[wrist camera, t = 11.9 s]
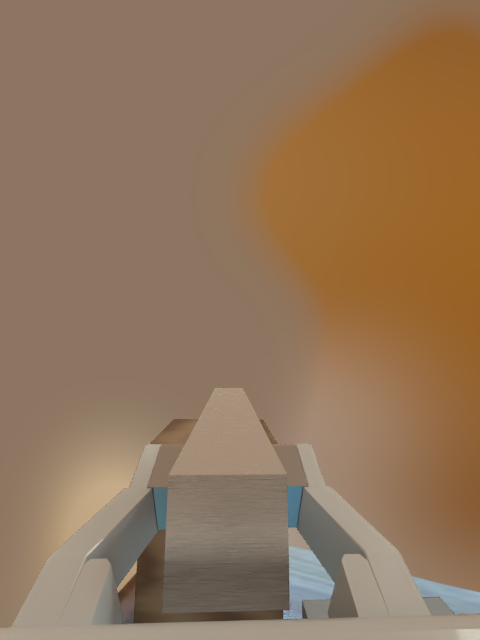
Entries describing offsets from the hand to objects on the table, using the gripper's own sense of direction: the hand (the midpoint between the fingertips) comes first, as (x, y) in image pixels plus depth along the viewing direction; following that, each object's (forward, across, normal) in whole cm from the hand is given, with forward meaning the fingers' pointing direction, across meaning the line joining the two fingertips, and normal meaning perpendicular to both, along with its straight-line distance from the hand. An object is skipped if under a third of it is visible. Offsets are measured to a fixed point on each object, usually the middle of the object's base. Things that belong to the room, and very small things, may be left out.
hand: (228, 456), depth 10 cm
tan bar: (+4, 0, +5) cm, 6 cm away
